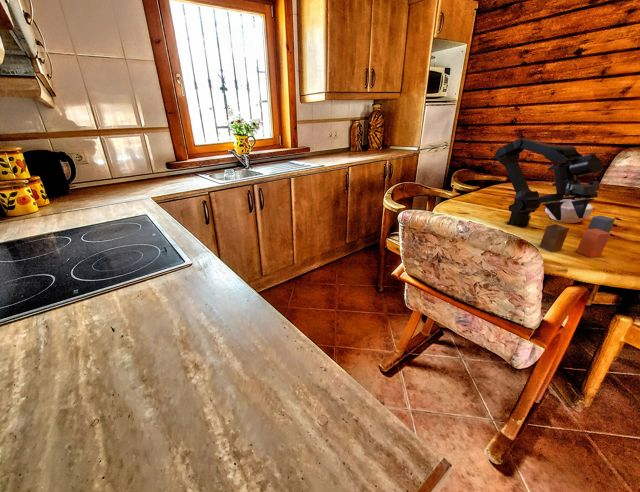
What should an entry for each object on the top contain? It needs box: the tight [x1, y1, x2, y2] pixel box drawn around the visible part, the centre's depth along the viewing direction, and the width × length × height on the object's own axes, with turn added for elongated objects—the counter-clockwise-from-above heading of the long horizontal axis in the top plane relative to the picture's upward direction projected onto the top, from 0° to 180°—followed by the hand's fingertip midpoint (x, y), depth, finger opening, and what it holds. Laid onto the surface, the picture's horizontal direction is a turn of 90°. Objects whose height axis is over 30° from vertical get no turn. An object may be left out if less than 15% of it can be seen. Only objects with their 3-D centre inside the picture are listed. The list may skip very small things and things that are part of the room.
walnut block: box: [538, 223, 570, 253], centre depth 104 cm, size 4×4×9 cm
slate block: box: [587, 215, 616, 233], centre depth 109 cm, size 4×4×9 cm
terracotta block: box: [575, 228, 611, 258], centre depth 99 cm, size 4×4×9 cm
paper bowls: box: [544, 199, 594, 224], centre depth 128 cm, size 15×15×8 cm
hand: (569, 219), depth 106 cm, fingers open, 9 cm apart
